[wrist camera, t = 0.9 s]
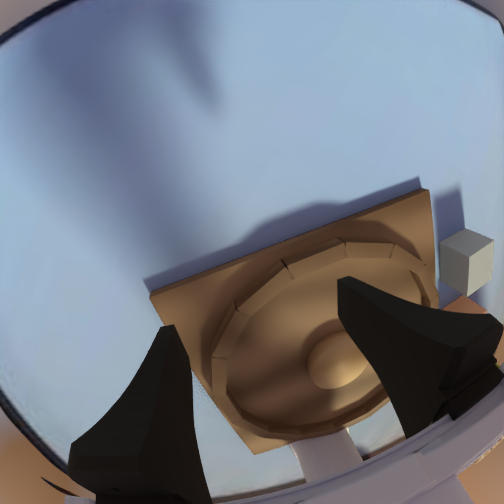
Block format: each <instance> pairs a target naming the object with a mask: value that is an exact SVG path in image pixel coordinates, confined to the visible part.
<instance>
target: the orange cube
mask: <svg viewBox="0 0 504 504" xmlns="http://www.w3.org/2000/svg"><path fill="white" fill-rule="evenodd" d="M441 310H445V311H451V312H460V313H473V314H486V313H487V310H485V309H484V308H483V307H481V306H480V305H478V304H477V303H475V302H474V301H472V300H471V299H469V298H468V297H465V296H464V295H462V296H460V297H459V298H457V299H456V300H455V301H453V302H452V303H450V304H449V305H447V306H446V307H444V308H443V309H441Z"/></svg>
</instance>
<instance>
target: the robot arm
mask: <svg viewBox="0 0 504 504" xmlns="http://www.w3.org/2000/svg"><path fill="white" fill-rule="evenodd" d="M337 308H338V317H339V319H340V321H341V323H342V325H343V326H344V328H345V330H346V332H347V333H348V335H349V336H350V338H351V339H352V340H353V342H354V343H355V344H356V346H357V347H358V348H359V350H360V351H361V353H362V354H363V355H364V357H365V358H366V359H367V361H368V362H369V363H370V365H371V366H372V368H373V369H374V371H375V372H376V374H377V376H378V378H379V379H380V381H381V383H382V385H383V387H384V389H385V391H386V393H387V395H388V397H389V399H390V401H391V403H392V405H393V407H394V409H395V412H396V414H397V416H398V418H399V421H400V423H401V426H402V428H403V431H404V434H405V436H406V439H407V440H405V441H403V442H401V443H399V444H398V445H396V446H394V447H392V448H390V449H388V450H386V451H384V452H382V453H380V454H378V455H376V456H374V457H372V458H370V459H368V460H365V461H363V460H362V458H361V456H360V454H359V452H358V450H357V448H356V446H355V444H354V443H353V441H352V439H351V437H350V434H349V428H345V429H343V430H341V431H339V432H337V433H335V432H334V434H330V435H325V436H321V437H316V438H311V439H305V440H300V441H296V442H293V443H291V444H289V445H290V447H291V449H292V451H293V452H294V454H295V456H296V457H297V459H298V461H299V462H300V465H301V468H302V471H303V473H304V476H305V479H306V482H307V483H305V484H302V485H299V486H296V487H292V488H289V489H285V490H281V491H278V492H274V493H270V494H265V495H261V496H256V497H252V498H247V499H241V500H236V501H230V502H223V503H216V504H474V503H473V501H472V500H471V498H470V496H469V495H468V493H467V491H466V490H465V488H464V487H463V485H462V483H461V482H460V480H459V479H458V477H457V475H458V474H459V473H461V472H462V471H463V470H465V469H466V468H467V467H469V466H470V465H471V464H472V463H473V462H475V461H476V460H477V459H478V458H479V457H480V456H482V455H483V454H484V453H485V452H486V451H487V450H488V449H489V448H491V447H492V446H493V445H494V444H495V443H496V442H497V441H498V440H499V439H500V438H501V437H502V436H503V435H504V363H503V364H502V365H501V366H500V367H499V368H498V367H497V366H496V365H495V364H496V363H497V359H496V358H495V357H494V356H493V354H494V352H495V350H496V348H497V346H498V344H499V342H500V339H501V337H502V334H503V325H502V324H501V323H500V322H499V321H498V320H497V319H496V318H495V317H493V316H492V315H491V314H473V313H460V312H451V311H445V310H440V309H435V308H431V307H427V306H423V305H420V304H416V303H413V302H410V301H407V300H404V299H402V298H399V297H396V296H394V295H392V294H389V293H387V292H385V291H382V290H380V289H378V288H376V287H373V286H371V285H369V284H367V283H365V282H363V281H360V280H358V279H356V278H354V277H351V276H346V277H343V278H340V279H337ZM67 474H68V475H69V477H70V478H71V479H72V480H73V481H75V482H76V483H77V484H79V485H81V486H82V487H84V488H86V489H87V490H89V491H91V492H93V493H94V494H96V501H95V500H92V499H87V498H81V497H74V496H68V495H67V496H65V503H64V504H213V503H212V500H211V496H210V493H209V490H208V487H207V483H206V479H205V476H204V472H203V468H202V464H201V459H200V454H199V450H198V445H197V439H196V434H195V427H194V414H193V386H192V372H191V366H190V359H189V356H188V354H187V351H186V349H185V347H184V345H183V343H182V341H181V338H180V336H179V334H178V332H177V329H176V327H175V325H174V324H172V325H167V326H163V327H160V329H159V331H158V333H157V335H156V337H155V339H154V341H153V343H152V345H151V347H150V349H149V351H148V353H147V355H146V357H145V359H144V361H143V362H142V364H141V366H140V368H139V369H138V371H137V373H136V375H135V376H134V378H133V380H132V381H131V383H130V384H129V386H128V387H127V388H126V390H125V391H124V393H123V394H122V395H121V397H120V398H119V399H118V400H117V401H116V403H115V404H114V405H113V406H112V407H111V408H110V410H109V411H108V412H107V413H106V414H105V415H104V416H103V417H102V418H101V419H100V420H99V421H98V422H97V423H96V424H95V425H94V426H93V427H92V428H90V429H89V430H88V431H87V432H86V433H84V434H83V435H82V436H81V437H79V438H78V439H77V440H76V441H74V442H73V443H71V448H70V454H69V460H68V467H67Z"/></svg>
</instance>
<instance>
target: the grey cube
mask: <svg viewBox="0 0 504 504" xmlns="http://www.w3.org/2000/svg"><path fill="white" fill-rule="evenodd" d="M439 253H440V280H441V281H442V282H444V283H446V284H447V285H449V286H450V287H452V288H453V289H455V290H456V291H458V292H459V293H461V294H462V295H464V296H465V297H468V296H470V295H471V294H472V293H474V292H475V291H476V290H478V289H479V288H480V287H481V286H483V285H484V284H485V283H487V282H488V281H489V280H490V279H491V277H492V267H493V254H494V240H493V239H490V238H488V237H486V236H483V235H481V234H478V233H476V232H474V231H471V230H469V229H466V228H464V229H462V230H461V231H459V232H457V233H455V234H453V235H451V236H450V237H448V238H446V239H444V240H442V241H440V242H439Z"/></svg>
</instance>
